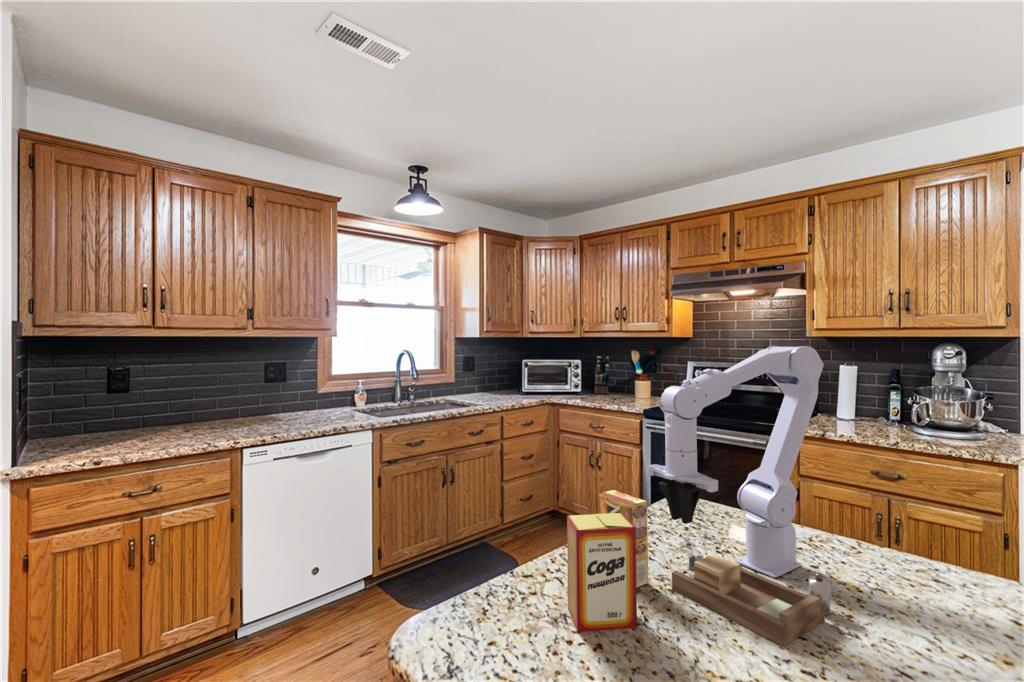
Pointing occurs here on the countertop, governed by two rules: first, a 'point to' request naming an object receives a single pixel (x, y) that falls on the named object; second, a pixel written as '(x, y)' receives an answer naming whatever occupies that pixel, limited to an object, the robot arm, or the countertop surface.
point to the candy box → (637, 516)
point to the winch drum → (820, 590)
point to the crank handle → (692, 560)
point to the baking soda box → (601, 572)
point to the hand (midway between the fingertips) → (681, 520)
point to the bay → (758, 605)
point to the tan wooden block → (718, 573)
